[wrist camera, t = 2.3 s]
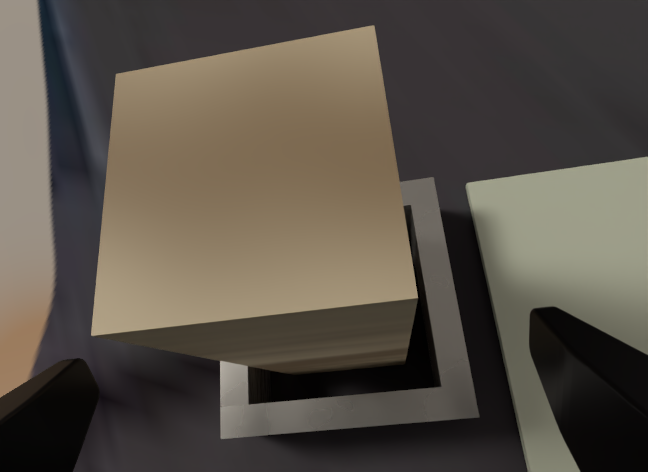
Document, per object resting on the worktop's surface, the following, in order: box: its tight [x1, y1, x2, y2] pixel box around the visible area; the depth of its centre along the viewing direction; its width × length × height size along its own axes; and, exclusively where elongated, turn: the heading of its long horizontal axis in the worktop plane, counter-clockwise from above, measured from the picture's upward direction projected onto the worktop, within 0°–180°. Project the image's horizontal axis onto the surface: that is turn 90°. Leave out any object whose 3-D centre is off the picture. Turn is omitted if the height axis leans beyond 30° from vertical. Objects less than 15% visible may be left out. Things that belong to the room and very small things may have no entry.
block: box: [91, 25, 418, 375], centre depth 13 cm, size 4×4×13 cm
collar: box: [220, 177, 479, 439], centre depth 17 cm, size 8×8×3 cm
